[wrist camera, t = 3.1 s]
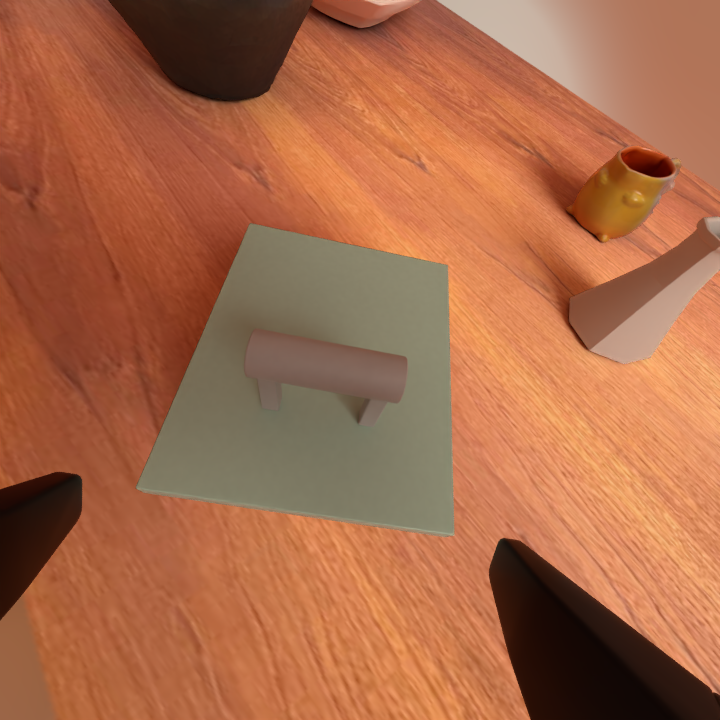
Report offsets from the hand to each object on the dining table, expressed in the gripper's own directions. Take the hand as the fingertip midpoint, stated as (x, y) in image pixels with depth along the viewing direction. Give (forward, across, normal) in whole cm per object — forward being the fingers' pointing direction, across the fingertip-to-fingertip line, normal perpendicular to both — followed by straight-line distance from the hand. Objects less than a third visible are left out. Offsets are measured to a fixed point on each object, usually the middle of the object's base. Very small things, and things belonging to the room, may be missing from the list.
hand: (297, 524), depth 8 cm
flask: (+22, -22, -5) cm, 32 cm away
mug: (+34, -28, -16) cm, 47 cm away
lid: (+10, 0, -1) cm, 10 cm away
